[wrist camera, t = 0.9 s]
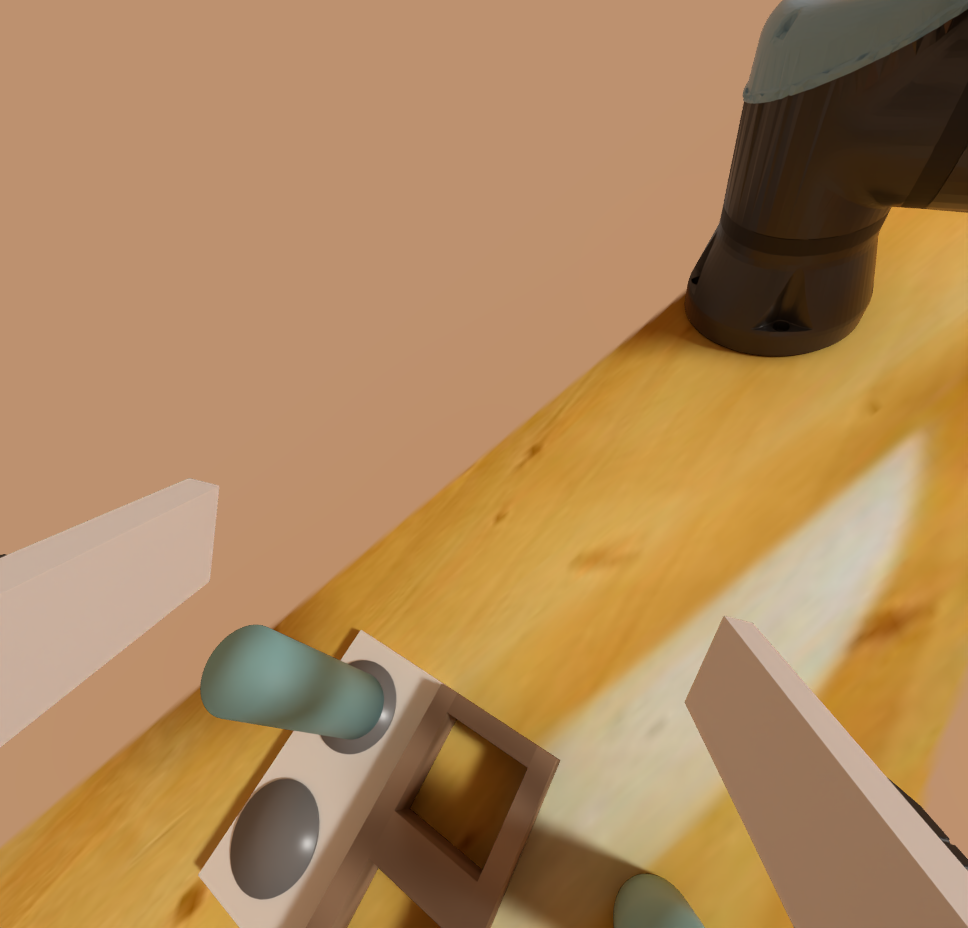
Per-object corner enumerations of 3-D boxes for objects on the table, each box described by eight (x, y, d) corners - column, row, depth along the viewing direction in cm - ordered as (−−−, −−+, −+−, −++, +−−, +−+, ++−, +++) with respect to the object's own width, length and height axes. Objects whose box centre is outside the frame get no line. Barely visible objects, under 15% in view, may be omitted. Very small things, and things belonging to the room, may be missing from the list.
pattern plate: (366, 633, 34) (359, 629, 33) (452, 689, 31) (447, 686, 30) (209, 872, 28) (195, 875, 27) (295, 978, 24) (282, 986, 23)
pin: (371, 660, 32) (272, 608, 22) (392, 716, 30) (290, 685, 20) (320, 693, 31) (195, 654, 22) (337, 753, 29) (206, 738, 19)
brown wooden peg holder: (452, 689, 31) (441, 683, 29) (560, 760, 27) (556, 758, 25) (295, 978, 24) (267, 995, 22) (410, 1119, 21) (389, 1155, 19)
